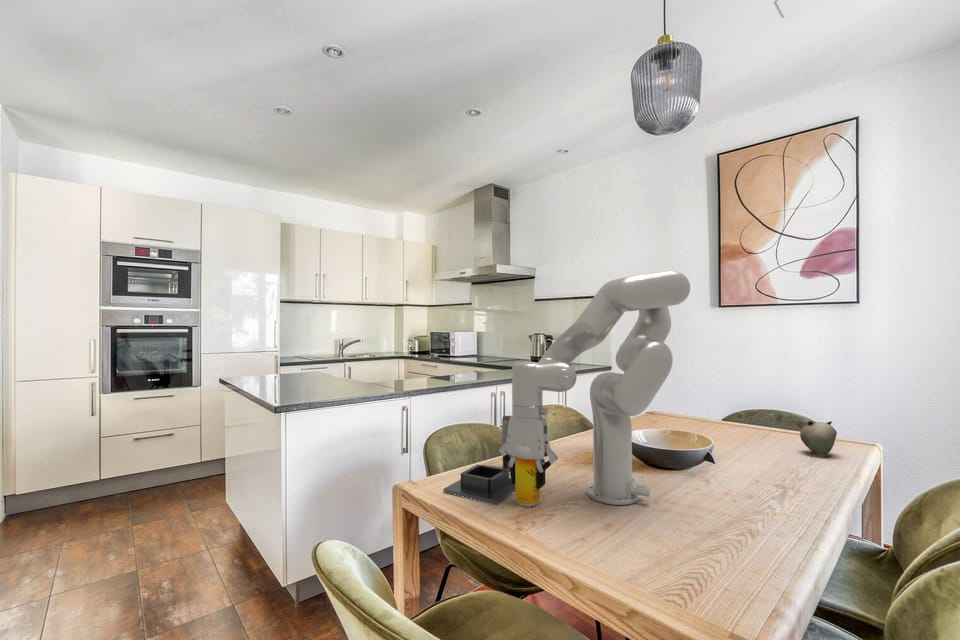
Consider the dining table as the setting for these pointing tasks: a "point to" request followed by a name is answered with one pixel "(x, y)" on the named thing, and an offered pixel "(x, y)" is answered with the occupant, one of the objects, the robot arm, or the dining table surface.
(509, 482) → the mount
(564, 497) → the dining table surface
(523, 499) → the beer can
